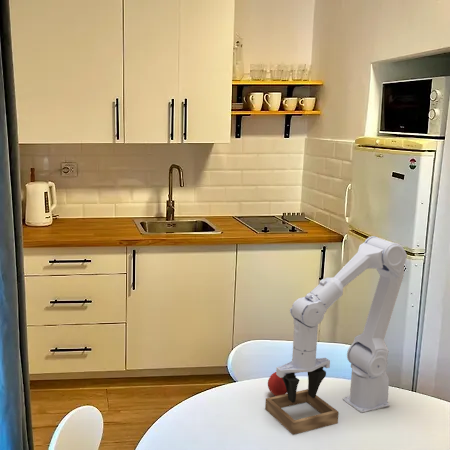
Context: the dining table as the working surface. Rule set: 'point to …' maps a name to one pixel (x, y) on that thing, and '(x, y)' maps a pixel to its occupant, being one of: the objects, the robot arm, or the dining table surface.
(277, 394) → the onion
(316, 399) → the box
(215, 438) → the dining table surface
